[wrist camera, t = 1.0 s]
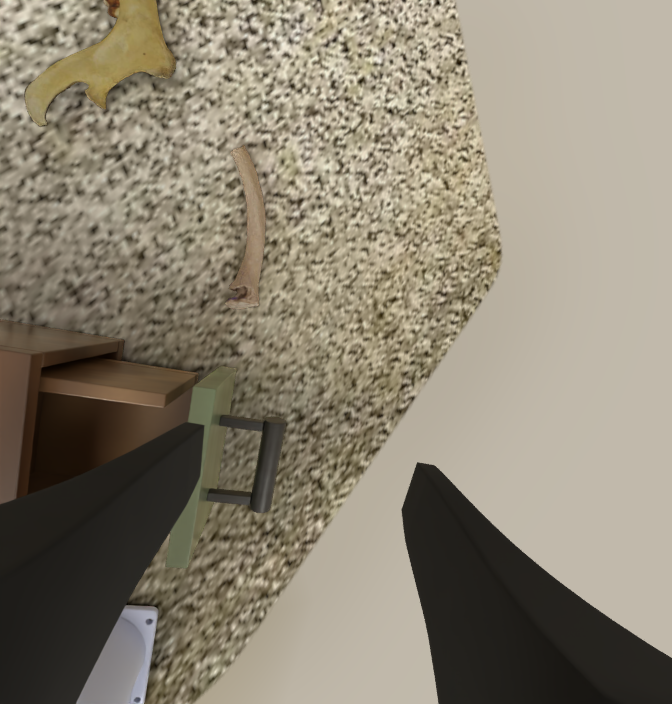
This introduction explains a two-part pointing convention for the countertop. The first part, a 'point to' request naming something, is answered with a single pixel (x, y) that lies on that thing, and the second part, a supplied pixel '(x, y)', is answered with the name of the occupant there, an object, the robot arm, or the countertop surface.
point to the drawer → (145, 431)
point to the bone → (249, 236)
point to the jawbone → (107, 59)
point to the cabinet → (33, 389)
